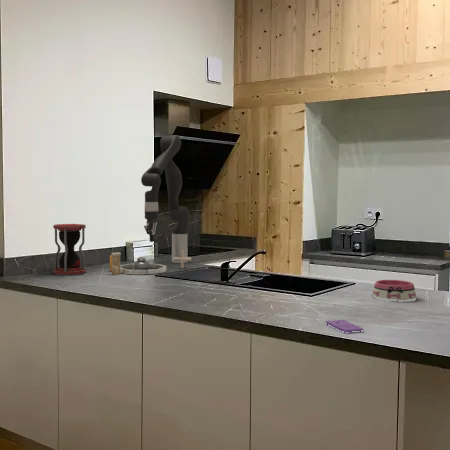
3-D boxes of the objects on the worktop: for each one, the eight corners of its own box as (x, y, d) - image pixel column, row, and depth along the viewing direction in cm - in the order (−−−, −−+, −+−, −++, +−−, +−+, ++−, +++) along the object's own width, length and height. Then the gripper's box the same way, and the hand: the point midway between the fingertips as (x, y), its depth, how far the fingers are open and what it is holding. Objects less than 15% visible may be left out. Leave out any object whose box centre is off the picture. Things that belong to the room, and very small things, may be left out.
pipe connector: (190, 269, 314) (190, 251, 313) (172, 269, 314) (172, 251, 313) (191, 266, 324) (192, 249, 323) (174, 266, 324) (174, 249, 323)
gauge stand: (114, 273, 297) (114, 252, 296) (122, 274, 295) (122, 252, 294) (110, 274, 293) (110, 253, 292) (117, 275, 291) (117, 253, 290)
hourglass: (80, 275, 289) (80, 226, 287) (49, 274, 289) (48, 225, 287) (89, 270, 305) (89, 223, 303) (59, 270, 305) (59, 223, 303)
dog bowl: (370, 301, 235) (371, 284, 235) (371, 293, 253) (372, 277, 252) (418, 304, 230) (418, 287, 230) (415, 295, 248) (416, 280, 248)
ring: (112, 267, 317) (112, 252, 316) (166, 267, 320) (166, 252, 319) (107, 274, 291) (107, 258, 291) (166, 274, 294) (166, 258, 293)
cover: (138, 269, 310) (139, 256, 310) (151, 271, 307) (151, 256, 307) (130, 271, 303) (130, 257, 303) (143, 273, 300) (143, 258, 299)
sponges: (343, 324, 196) (343, 319, 196) (363, 333, 184) (364, 328, 184) (325, 325, 193) (325, 320, 193) (344, 335, 182) (344, 329, 181)
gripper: (151, 209, 320) (152, 240, 321) (139, 210, 308) (139, 242, 309) (163, 209, 317) (163, 240, 319) (151, 211, 305) (152, 243, 306)
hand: (152, 241), depth 314 cm, fingers closed
